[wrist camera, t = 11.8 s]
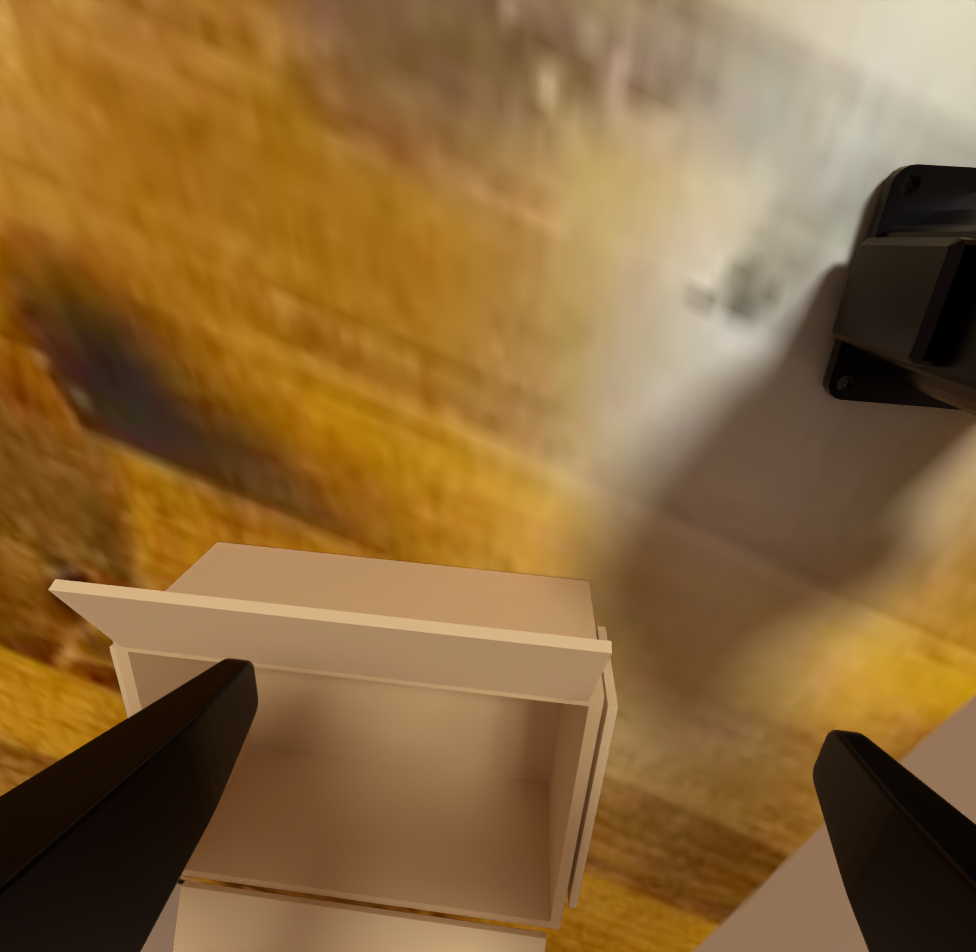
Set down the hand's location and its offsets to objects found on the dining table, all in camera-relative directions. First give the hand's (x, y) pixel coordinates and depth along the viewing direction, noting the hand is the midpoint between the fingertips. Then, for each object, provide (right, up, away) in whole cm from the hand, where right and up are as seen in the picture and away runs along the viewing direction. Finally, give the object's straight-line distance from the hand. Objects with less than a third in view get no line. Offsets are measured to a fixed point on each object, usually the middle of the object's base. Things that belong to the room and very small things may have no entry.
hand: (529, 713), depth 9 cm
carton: (-4, -5, +16) cm, 17 cm away
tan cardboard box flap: (-5, -1, +6) cm, 8 cm away
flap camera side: (-6, -14, +12) cm, 20 cm away
